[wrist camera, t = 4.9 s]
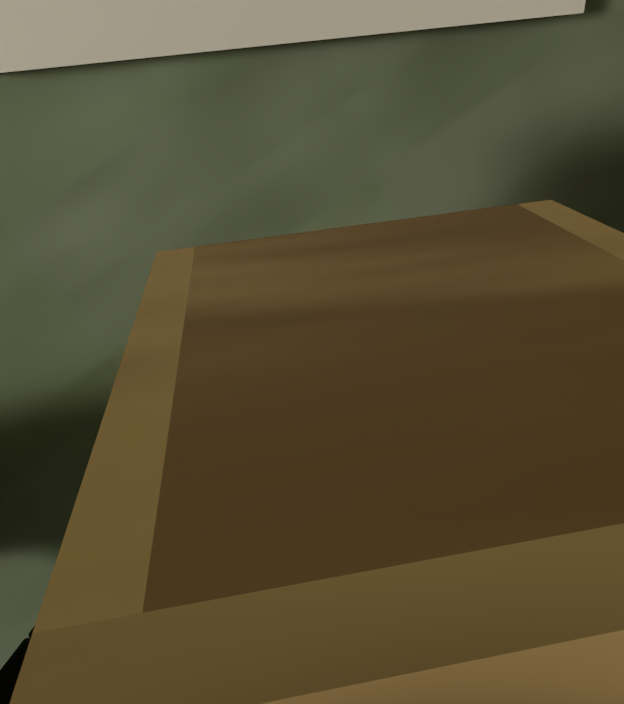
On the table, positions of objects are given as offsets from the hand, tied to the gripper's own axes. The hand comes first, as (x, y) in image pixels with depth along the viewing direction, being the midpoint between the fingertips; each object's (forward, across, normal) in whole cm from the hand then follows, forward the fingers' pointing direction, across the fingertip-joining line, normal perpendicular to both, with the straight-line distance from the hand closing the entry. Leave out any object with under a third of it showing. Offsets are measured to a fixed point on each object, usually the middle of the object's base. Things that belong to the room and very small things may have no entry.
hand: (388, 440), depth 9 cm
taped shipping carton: (+2, 0, 0) cm, 2 cm away
